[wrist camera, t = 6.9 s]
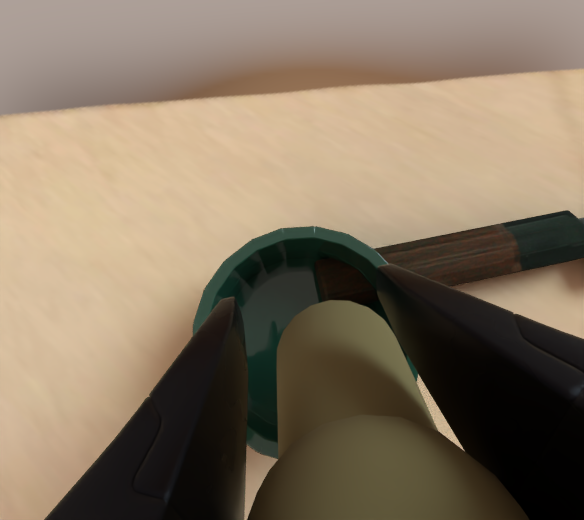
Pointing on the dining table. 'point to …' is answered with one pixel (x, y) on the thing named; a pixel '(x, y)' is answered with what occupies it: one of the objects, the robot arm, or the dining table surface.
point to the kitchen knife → (465, 255)
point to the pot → (280, 306)
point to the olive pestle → (364, 432)
